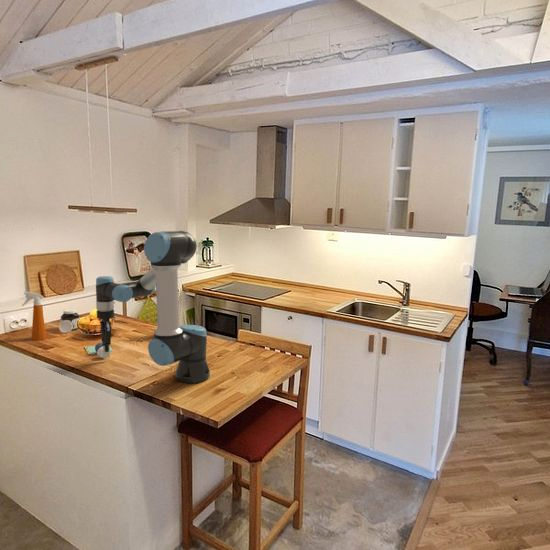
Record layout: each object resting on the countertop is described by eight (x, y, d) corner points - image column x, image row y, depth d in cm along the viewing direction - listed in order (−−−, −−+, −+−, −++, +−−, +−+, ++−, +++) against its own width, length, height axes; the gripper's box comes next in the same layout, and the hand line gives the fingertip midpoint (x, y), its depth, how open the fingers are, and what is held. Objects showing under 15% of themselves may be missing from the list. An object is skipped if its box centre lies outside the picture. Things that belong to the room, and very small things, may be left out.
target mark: (113, 351, 210) (113, 350, 210) (87, 354, 203) (87, 354, 203) (108, 344, 219) (108, 343, 219) (83, 347, 213) (83, 347, 213)
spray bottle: (23, 338, 222) (20, 290, 218) (45, 335, 228) (43, 289, 224) (23, 342, 216) (21, 293, 212) (47, 339, 222) (45, 291, 218)
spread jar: (78, 326, 247) (77, 307, 246) (83, 331, 239) (82, 311, 237) (55, 329, 240) (55, 310, 238) (60, 334, 231) (59, 314, 229)
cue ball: (107, 343, 202) (107, 353, 204) (95, 345, 199) (95, 355, 201) (110, 349, 198) (110, 359, 200) (98, 351, 195) (98, 361, 197)
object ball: (108, 351, 204) (107, 340, 205) (96, 353, 201) (95, 342, 202) (106, 353, 208) (105, 342, 210) (94, 355, 205) (93, 344, 207)
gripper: (117, 311, 188) (117, 360, 192) (110, 305, 199) (111, 352, 203) (99, 313, 184) (100, 363, 188) (93, 307, 195) (95, 354, 199)
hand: (106, 357), depth 195 cm, fingers closed
